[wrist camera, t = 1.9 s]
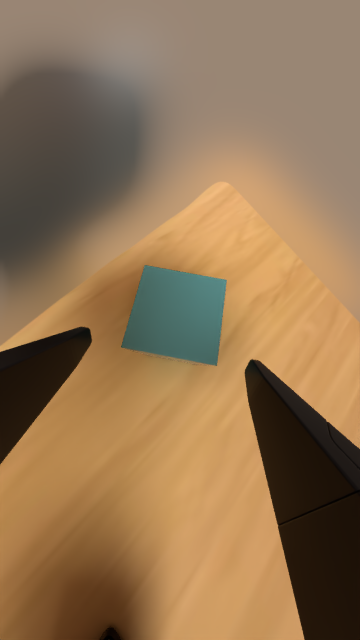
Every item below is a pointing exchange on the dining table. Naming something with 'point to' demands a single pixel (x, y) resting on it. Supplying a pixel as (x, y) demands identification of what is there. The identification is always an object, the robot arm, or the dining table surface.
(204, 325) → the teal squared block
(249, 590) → the dining table surface
